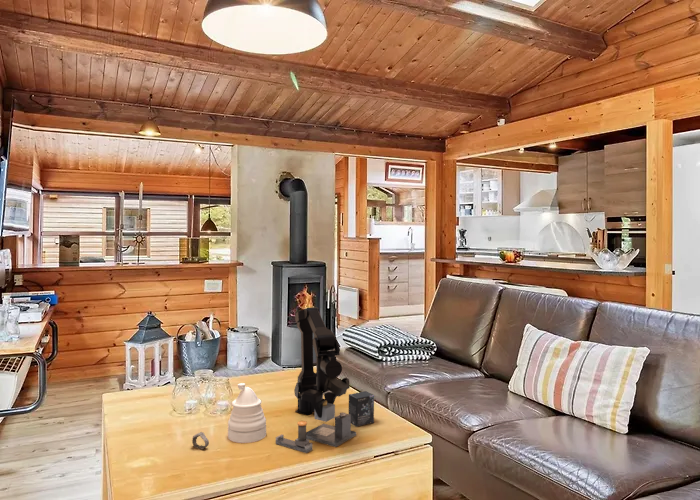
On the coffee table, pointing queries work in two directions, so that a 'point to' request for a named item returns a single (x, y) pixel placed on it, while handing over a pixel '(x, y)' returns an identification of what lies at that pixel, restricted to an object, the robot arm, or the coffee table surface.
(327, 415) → the block
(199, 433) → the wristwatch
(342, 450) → the coffee table surface
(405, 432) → the coffee table surface
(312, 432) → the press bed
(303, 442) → the lever
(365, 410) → the box
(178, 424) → the coffee table surface
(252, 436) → the honey pot
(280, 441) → the lever rail
